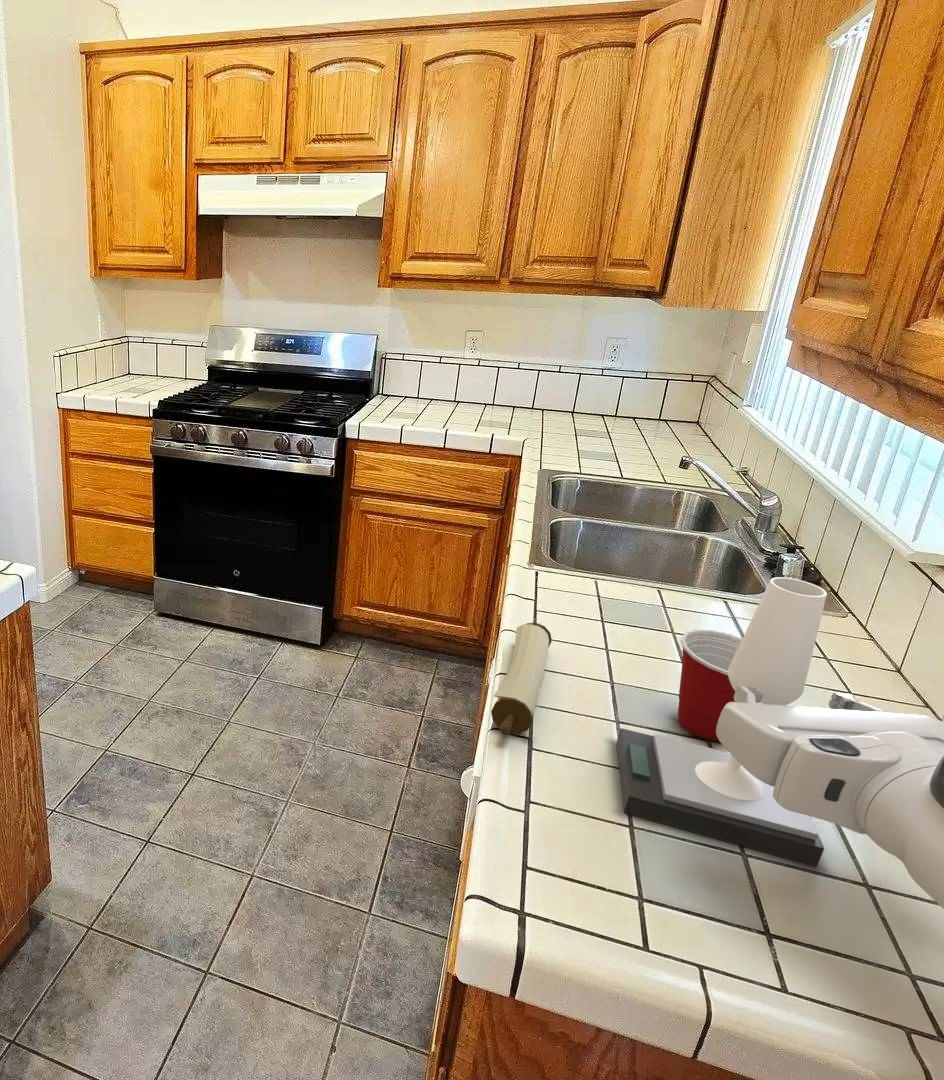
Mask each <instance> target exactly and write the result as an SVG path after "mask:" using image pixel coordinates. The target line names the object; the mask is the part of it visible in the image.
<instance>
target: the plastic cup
mask: <svg viewBox="0 0 944 1080" xmlns="http://www.w3.org/2000/svg"><path fill="white" fill-rule="evenodd" d="M742 639H743V637H739V636H737V635H734V634H731V633H729V632H728V633H727V632H723V631H720V630H719V631H718V630H715V629H701V628H700V629H697V628H695V629H691V630H688V631H685V632H684V634H683V635H682V636H681V637H680V642H681V646H682V652H681V653H682V656H681V661H682V663H681V670H680V671H681V672H680V681H679V689H678V690H679V691H678V699H679V700H678V706H677V707H678V709H677V721H678V725H679V726H680V727H681V728H682V729H683V730H684V731H686V732H688V733H689V734H691V735H692V736H695V737H698V738H700V739H702V740H703V739H704V740H708V741H719V739H718V737H717V735H716V728H717V724H718V720H719V717H720V715H721V712H722V710H723V708H724V707H725V705H726V704H727V703H729V702H735V700H734V694H735V690H734V689H733V687H732V685H731V683H730V680H729V677H728V668H729V666H730V664H731V662H732V660H733V658H734V655H735V653H736V651H737V649H738V647H739V645H740V643H741V641H742Z"/></svg>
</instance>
